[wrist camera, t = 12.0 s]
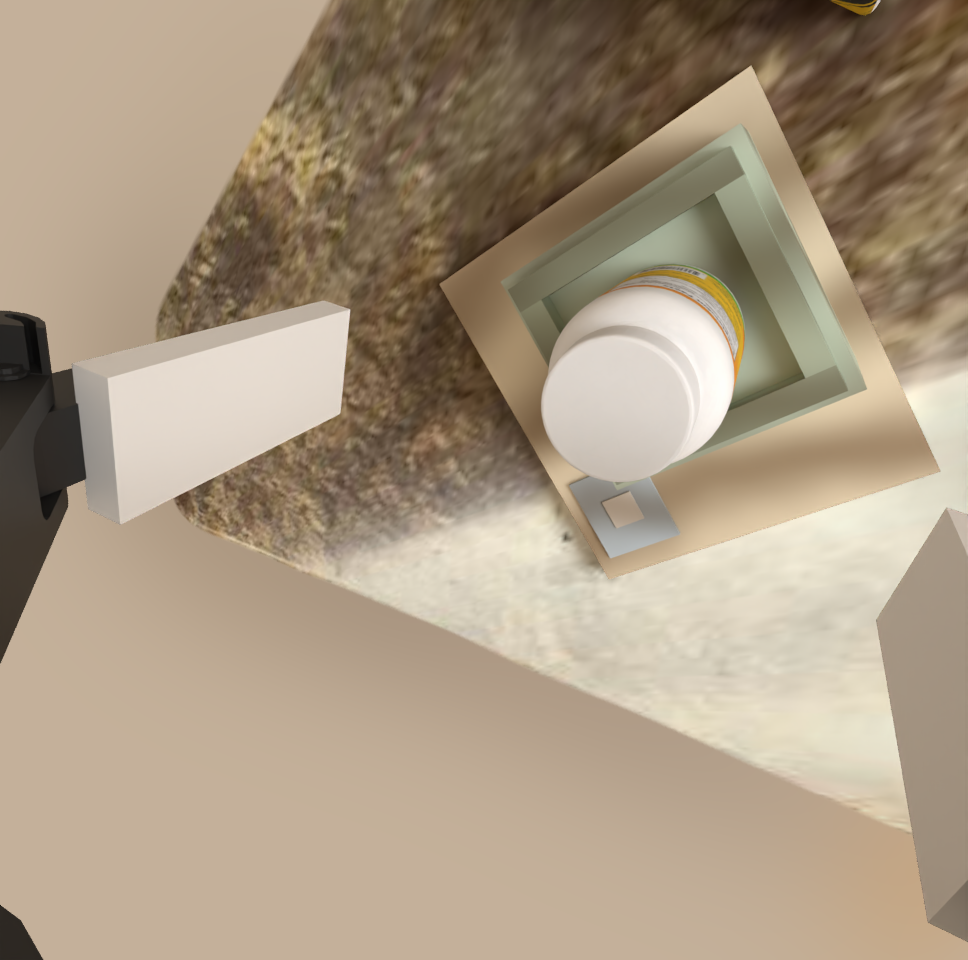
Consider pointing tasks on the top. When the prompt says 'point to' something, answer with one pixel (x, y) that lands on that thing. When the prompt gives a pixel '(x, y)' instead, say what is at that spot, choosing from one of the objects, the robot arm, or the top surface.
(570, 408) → the supplement bottle
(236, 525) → the top surface
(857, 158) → the top surface
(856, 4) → the medicine bottle
